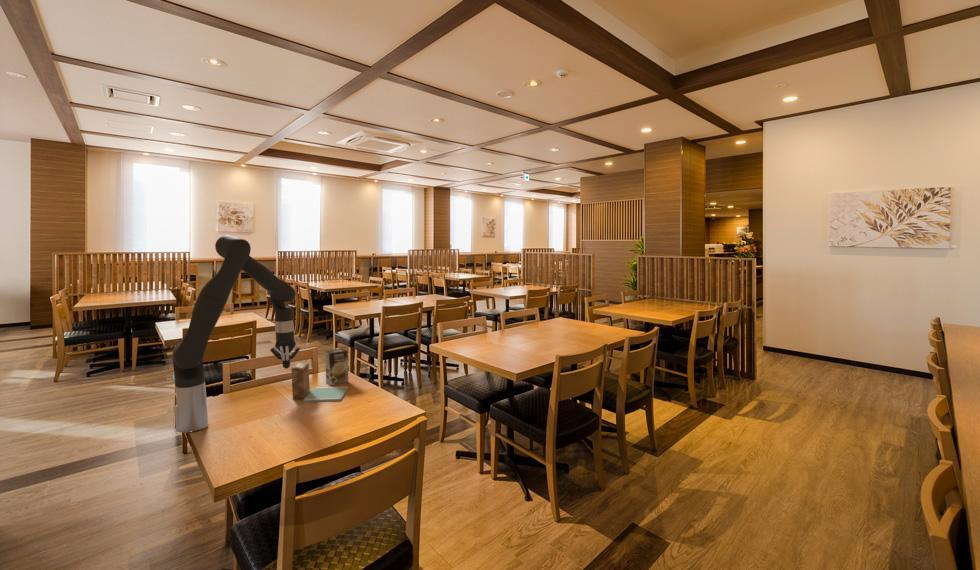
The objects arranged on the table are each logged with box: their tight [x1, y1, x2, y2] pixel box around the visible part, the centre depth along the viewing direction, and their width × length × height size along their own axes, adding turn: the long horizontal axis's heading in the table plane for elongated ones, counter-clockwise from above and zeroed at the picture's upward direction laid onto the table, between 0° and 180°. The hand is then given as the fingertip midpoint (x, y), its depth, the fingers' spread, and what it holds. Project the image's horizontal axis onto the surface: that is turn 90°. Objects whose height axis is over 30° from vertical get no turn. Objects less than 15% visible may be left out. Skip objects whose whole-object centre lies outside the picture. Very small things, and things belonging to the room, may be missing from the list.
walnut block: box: [290, 362, 311, 400], centre depth 196 cm, size 5×8×14 cm, turn 7°
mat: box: [302, 386, 349, 403], centre depth 198 cm, size 16×16×1 cm
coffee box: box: [325, 348, 349, 387], centre depth 214 cm, size 9×6×16 cm
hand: (286, 368), depth 195 cm, fingers closed
